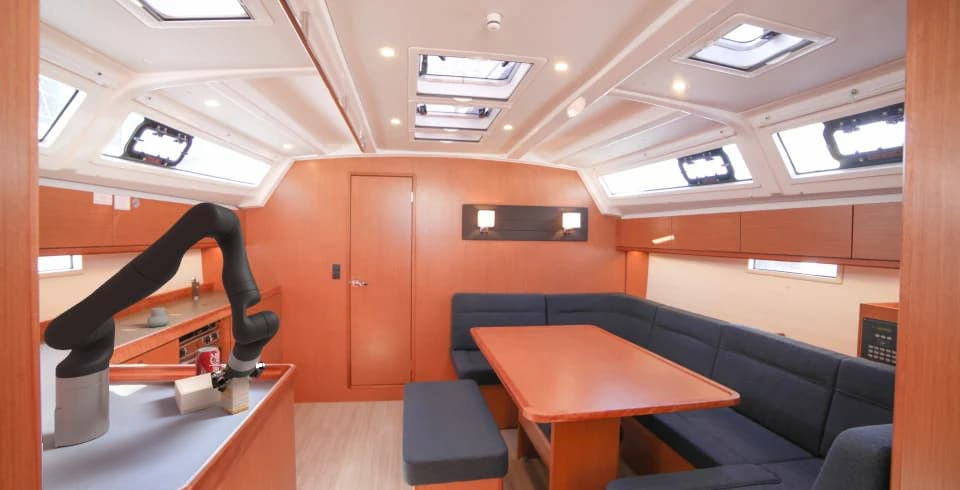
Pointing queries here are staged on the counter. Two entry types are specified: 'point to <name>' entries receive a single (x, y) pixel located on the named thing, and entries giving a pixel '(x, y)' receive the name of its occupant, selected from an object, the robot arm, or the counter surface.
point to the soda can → (207, 360)
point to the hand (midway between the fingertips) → (233, 386)
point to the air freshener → (158, 317)
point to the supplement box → (235, 395)
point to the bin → (196, 393)
